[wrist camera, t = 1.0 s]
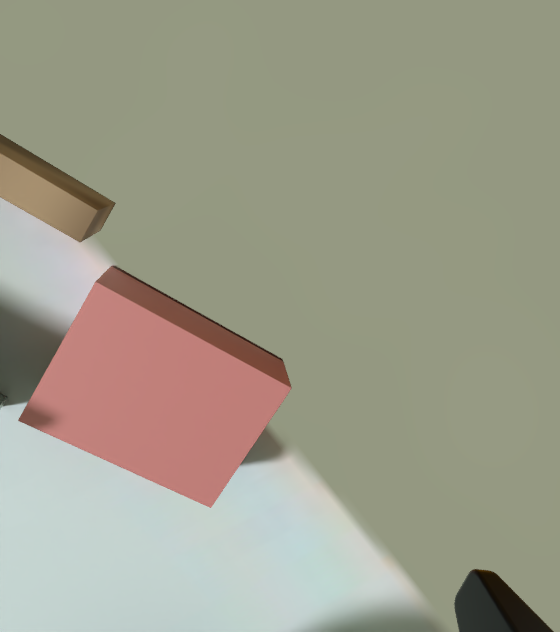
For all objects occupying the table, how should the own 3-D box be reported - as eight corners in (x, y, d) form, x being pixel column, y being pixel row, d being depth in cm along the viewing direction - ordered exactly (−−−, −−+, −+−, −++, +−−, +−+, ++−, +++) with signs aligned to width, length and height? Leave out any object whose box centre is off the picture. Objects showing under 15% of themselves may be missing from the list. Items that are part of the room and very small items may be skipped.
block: (282, 358, 22) (291, 388, 19) (211, 465, 23) (210, 507, 21) (112, 264, 20) (95, 281, 18) (44, 385, 22) (18, 420, 19)
